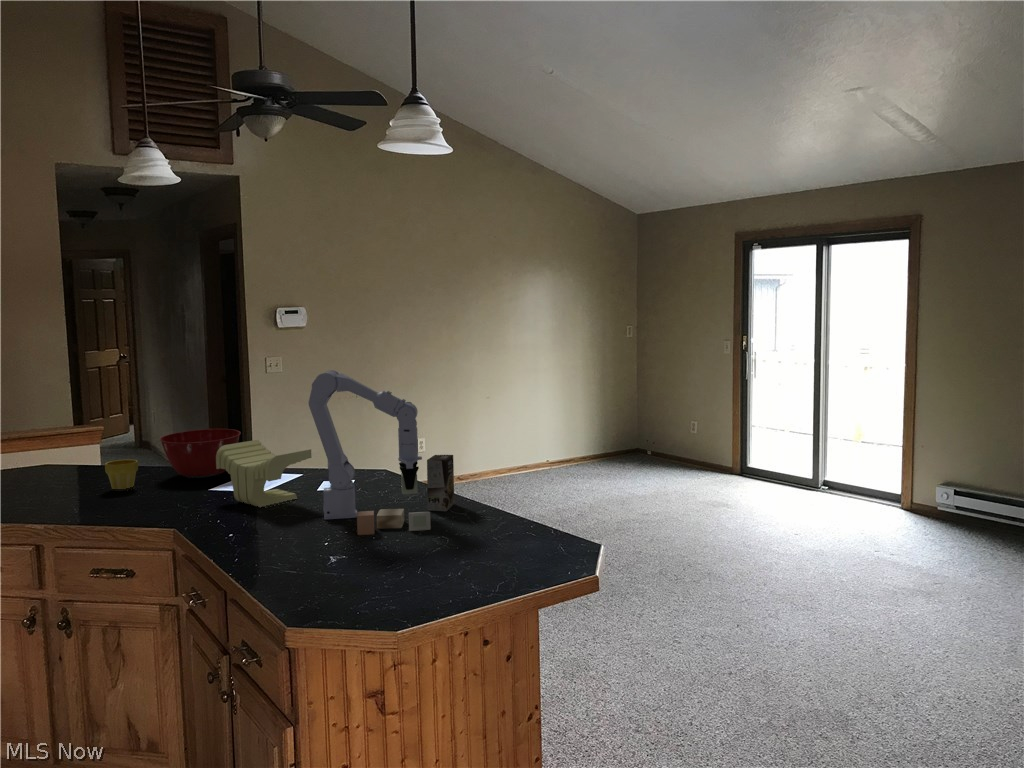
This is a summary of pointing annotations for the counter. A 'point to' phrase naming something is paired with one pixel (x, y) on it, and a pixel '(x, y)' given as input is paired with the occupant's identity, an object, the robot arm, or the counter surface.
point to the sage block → (404, 491)
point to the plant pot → (121, 473)
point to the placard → (419, 521)
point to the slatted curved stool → (256, 471)
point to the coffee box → (440, 482)
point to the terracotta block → (365, 522)
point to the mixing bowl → (197, 450)
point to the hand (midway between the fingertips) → (409, 487)
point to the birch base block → (390, 518)
